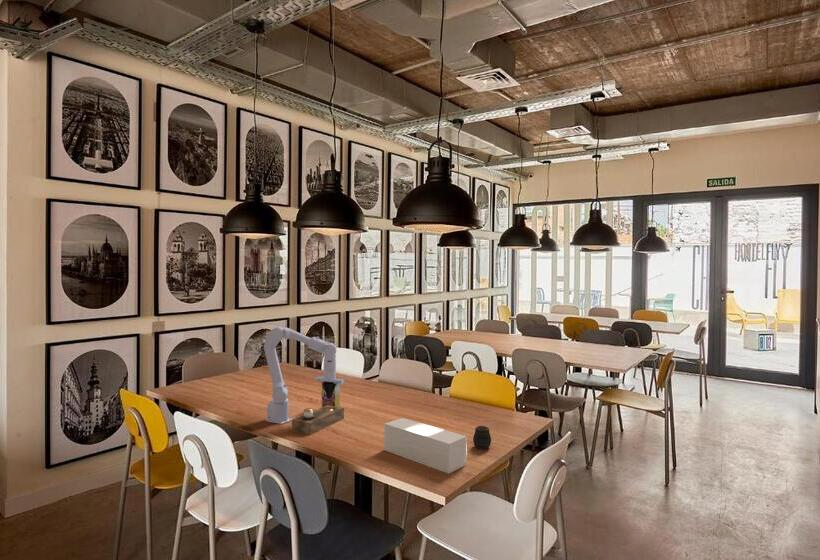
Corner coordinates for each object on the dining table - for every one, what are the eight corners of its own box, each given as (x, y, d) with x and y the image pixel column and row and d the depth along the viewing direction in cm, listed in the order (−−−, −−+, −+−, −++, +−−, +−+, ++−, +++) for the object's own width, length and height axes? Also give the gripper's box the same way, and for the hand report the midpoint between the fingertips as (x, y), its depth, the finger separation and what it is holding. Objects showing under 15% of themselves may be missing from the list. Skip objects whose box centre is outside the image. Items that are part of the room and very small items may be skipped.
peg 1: (301, 420, 211) (302, 409, 211) (307, 417, 214) (307, 407, 214) (309, 421, 209) (309, 411, 209) (314, 418, 213) (314, 408, 213)
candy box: (320, 409, 243) (321, 379, 243) (326, 407, 247) (326, 377, 247) (334, 412, 239) (335, 381, 239) (340, 409, 243) (340, 379, 242)
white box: (466, 465, 176) (466, 436, 176) (448, 474, 168) (449, 443, 168) (402, 443, 197) (402, 417, 197) (384, 450, 189) (384, 423, 189)
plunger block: (291, 431, 210) (292, 419, 209) (326, 415, 233) (326, 405, 233) (310, 434, 205) (310, 423, 205) (344, 418, 229) (344, 407, 229)
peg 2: (323, 419, 225) (323, 409, 225) (328, 417, 229) (328, 407, 229) (330, 420, 224) (330, 411, 224) (335, 418, 227) (335, 408, 227)
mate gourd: (489, 444, 197) (489, 420, 197) (492, 451, 190) (493, 426, 190) (471, 443, 197) (472, 419, 197) (474, 451, 190) (475, 426, 189)
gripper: (347, 369, 226) (347, 397, 227) (322, 366, 233) (321, 394, 233) (339, 372, 220) (338, 401, 220) (313, 368, 226) (312, 397, 226)
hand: (329, 397), depth 226 cm, fingers closed
